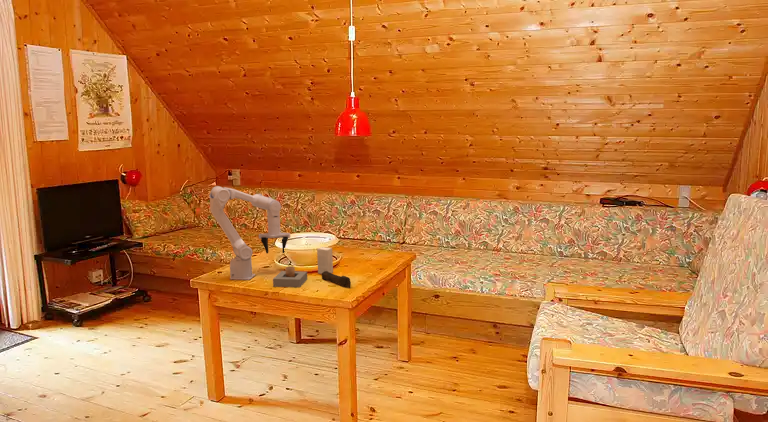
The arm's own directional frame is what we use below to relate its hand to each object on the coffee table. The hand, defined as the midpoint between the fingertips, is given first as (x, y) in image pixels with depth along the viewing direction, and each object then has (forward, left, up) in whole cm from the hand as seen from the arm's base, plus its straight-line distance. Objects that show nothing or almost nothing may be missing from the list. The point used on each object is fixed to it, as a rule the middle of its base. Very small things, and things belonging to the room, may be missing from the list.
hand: (275, 252), depth 262 cm
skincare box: (+24, 0, -10) cm, 26 cm away
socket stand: (+12, -16, -9) cm, 22 cm away
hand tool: (+33, -15, -10) cm, 38 cm away
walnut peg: (+12, -16, -8) cm, 22 cm away
